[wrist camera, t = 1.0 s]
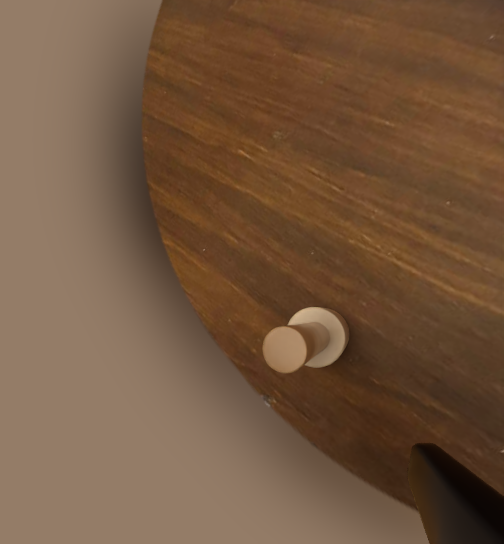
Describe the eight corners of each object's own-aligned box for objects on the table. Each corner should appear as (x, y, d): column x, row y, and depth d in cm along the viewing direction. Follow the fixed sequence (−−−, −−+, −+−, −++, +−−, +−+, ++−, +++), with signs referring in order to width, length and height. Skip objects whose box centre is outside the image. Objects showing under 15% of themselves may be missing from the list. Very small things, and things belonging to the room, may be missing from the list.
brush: (360, 336, 22) (352, 357, 11) (321, 369, 22) (280, 417, 12) (325, 298, 23) (288, 284, 12) (289, 330, 23) (223, 342, 13)
